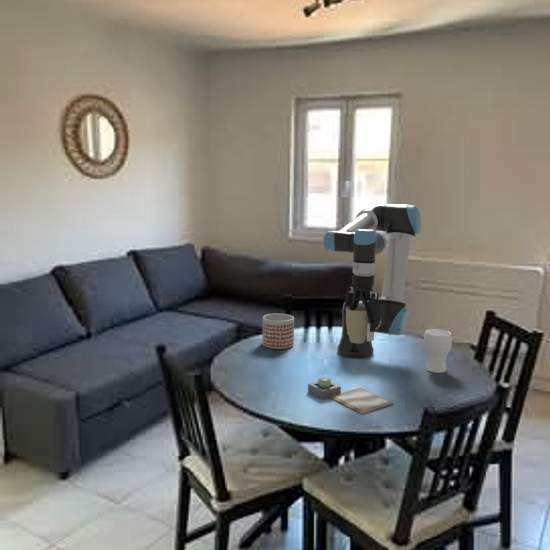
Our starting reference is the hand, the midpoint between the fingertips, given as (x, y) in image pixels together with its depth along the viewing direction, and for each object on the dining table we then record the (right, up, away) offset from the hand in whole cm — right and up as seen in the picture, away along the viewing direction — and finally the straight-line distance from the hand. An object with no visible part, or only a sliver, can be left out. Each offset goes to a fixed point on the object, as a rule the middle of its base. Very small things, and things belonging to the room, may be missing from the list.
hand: (360, 337), depth 200 cm
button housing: (-13, -19, -3) cm, 23 cm away
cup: (+33, -15, +22) cm, 42 cm away
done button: (-13, -17, -4) cm, 22 cm away
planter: (-29, -9, +51) cm, 59 cm away
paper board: (-1, -20, -10) cm, 23 cm away
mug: (0, -2, 0) cm, 2 cm away
